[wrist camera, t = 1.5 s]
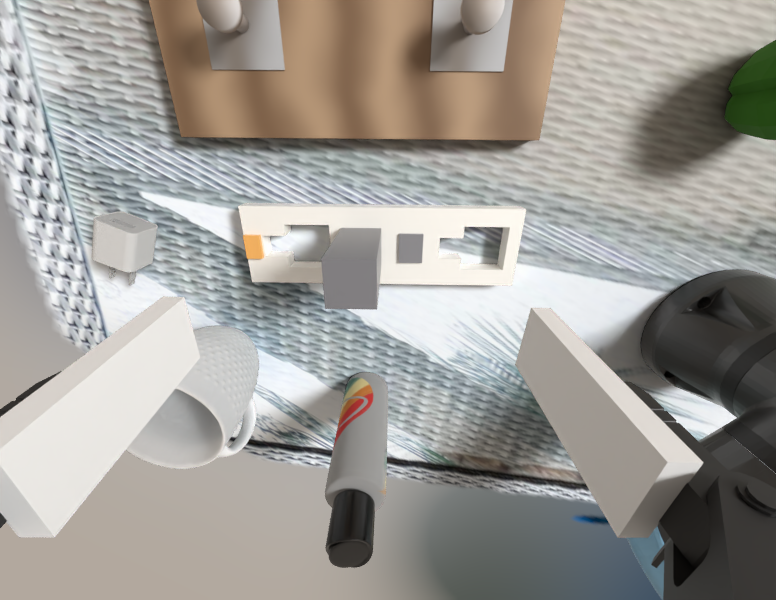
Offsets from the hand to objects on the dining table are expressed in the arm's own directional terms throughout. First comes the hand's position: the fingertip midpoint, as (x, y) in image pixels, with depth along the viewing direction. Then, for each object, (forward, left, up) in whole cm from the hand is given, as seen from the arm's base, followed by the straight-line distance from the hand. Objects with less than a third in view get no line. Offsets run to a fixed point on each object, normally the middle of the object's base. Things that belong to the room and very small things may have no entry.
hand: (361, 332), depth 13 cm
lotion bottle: (-23, +2, -24) cm, 33 cm away
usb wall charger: (-4, +27, -24) cm, 36 cm away
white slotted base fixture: (-3, 0, -23) cm, 23 cm away
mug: (-18, +19, -24) cm, 35 cm away
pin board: (+15, +2, -23) cm, 28 cm away
